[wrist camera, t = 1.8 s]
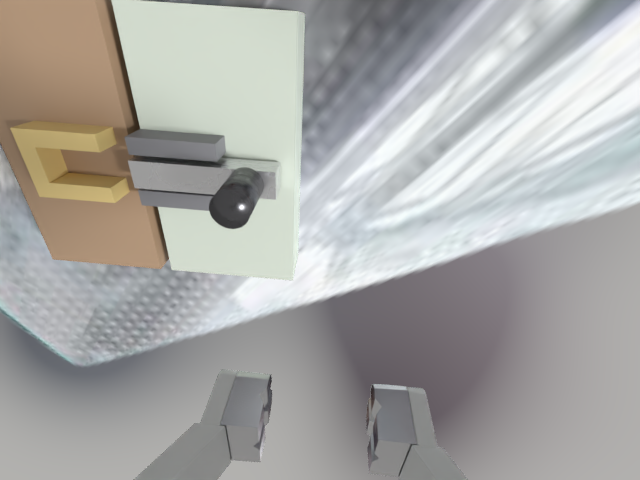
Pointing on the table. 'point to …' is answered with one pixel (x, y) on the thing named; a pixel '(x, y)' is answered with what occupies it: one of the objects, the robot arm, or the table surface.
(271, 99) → the door and jamb
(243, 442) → the robot arm
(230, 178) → the bolt
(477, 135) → the table surface
